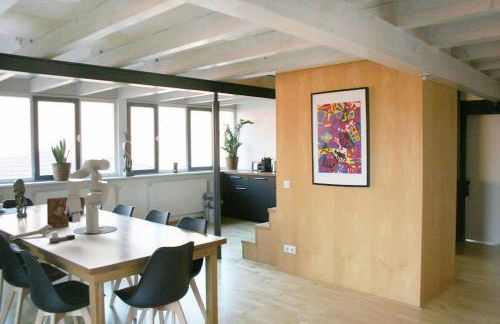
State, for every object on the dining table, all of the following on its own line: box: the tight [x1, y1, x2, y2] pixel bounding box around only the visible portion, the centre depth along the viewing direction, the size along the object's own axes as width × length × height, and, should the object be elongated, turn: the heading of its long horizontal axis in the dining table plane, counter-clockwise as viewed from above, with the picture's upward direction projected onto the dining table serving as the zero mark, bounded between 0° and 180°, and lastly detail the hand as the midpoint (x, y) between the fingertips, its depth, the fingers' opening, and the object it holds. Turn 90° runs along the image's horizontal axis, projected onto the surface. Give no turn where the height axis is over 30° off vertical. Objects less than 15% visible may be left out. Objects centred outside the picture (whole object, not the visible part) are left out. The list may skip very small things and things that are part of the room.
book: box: [46, 196, 70, 229], centre depth 359 cm, size 16×6×25 cm, turn 129°
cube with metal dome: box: [68, 212, 81, 224], centre depth 309 cm, size 6×6×8 cm
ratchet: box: [49, 231, 76, 244], centre depth 311 cm, size 18×7×8 cm, turn 147°
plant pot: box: [79, 196, 86, 215], centre depth 425 cm, size 16×16×16 cm
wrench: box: [9, 224, 53, 241], centre depth 321 cm, size 8×2×30 cm
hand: (74, 220), depth 309 cm, fingers closed on cube with metal dome, 6 cm apart
